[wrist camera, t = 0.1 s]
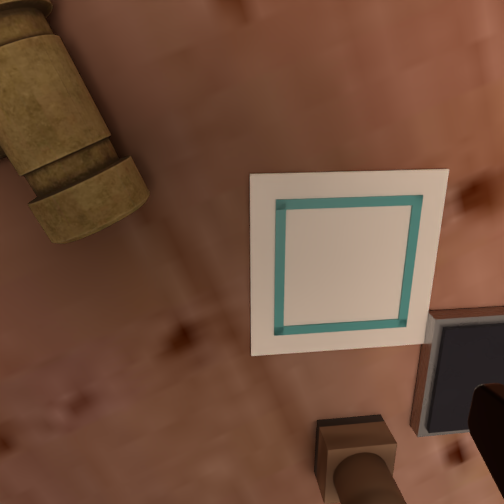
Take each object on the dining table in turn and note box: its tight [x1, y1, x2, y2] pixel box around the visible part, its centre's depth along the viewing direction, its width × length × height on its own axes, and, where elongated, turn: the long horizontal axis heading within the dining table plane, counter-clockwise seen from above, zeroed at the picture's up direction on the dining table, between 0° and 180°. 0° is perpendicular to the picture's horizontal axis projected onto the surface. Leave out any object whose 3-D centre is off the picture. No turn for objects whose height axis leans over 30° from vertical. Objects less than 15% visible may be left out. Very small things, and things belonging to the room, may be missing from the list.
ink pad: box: [410, 306, 504, 437], centre depth 26 cm, size 8×8×1 cm
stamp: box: [314, 415, 406, 504], centre depth 24 cm, size 4×4×7 cm
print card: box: [250, 169, 449, 356], centre depth 23 cm, size 10×10×1 cm
